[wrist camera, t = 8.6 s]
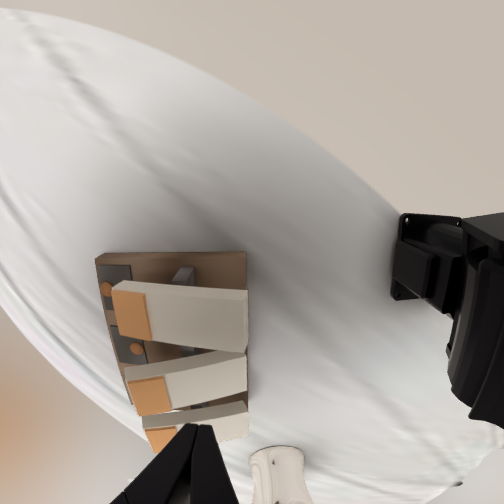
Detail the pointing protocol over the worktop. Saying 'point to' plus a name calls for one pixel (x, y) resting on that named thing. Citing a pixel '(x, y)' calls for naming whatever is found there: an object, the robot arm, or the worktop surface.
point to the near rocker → (182, 315)
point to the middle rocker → (186, 381)
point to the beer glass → (279, 476)
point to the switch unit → (172, 273)
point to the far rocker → (220, 417)
